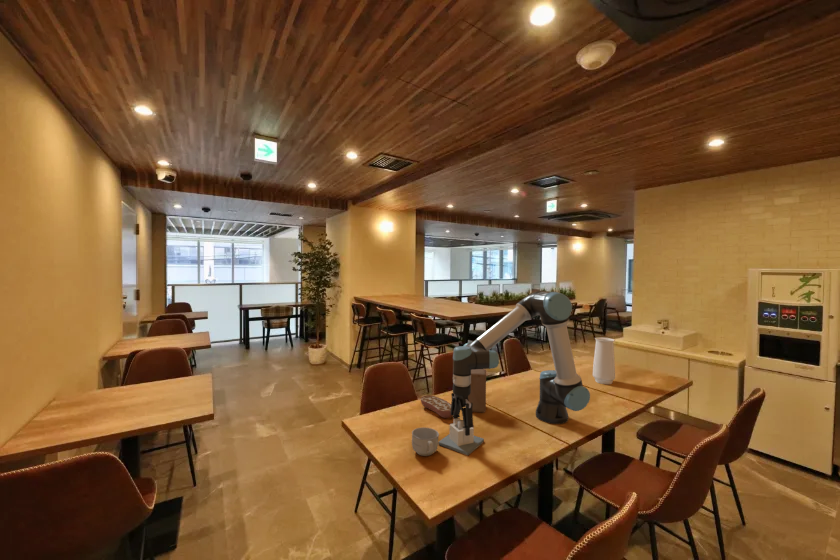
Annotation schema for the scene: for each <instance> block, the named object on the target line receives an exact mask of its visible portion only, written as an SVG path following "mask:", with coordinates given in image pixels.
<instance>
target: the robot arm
mask: <svg viewBox="0 0 840 560" xmlns="http://www.w3.org/2000/svg"><path fill="white" fill-rule="evenodd" d="M572 310H573V305H572V301H571V300H570V298H569V297H568V296H567V295H565V294H564V293H561V292H558V291H549V290H548V291H547V290H535V291H533V292H531V293H530V294H528V295H526V296H524V298H522V299H521V300H519V301H518V302H517V303H516V304H515V307H514V308H513V309H512V310H511V311H509V312H508V313H507V314H505V315H504V316H503V317H502V318H500V319H499V320H498V321H497V322H496V323H495V324H493V325H492V326H491V327H489V329H487V330H486V331H484V332H483V333H482V334H481V335H479V336H478V337H477V338H476V339H475V340H473V341H472V342H467V343H465V344H463V346H460V345H459V346H455V347H454V348H453V353H452V383H453V384H452V393H450V394H451V402H450V404H451V415H452V418H453V421H452V422H453V423H457V421H458V420H461V419H460V417H461V415H462V420H463V422H464V427H463V443H467V442H469V439H470V428H471V427H473V425H474V417H473V416H474V415H473V414H474V413H473V412H472V406H473V403H470V402H469V400H468V396H469V395H470V393H471V385H470V384H471V370H475V369H485V370H486V369H487V370H490V369H495V368H497V367H498V366H499V363H500V358H499V354H498V352H497V351H496V350H491V349H492V348H493V347H495V346H496V345H497V344H498V343H500V342H501V341H502V340H503V339H505V338H506V337H507V336H509V334H511V333H512V332H514V331H515V330H516V329H517V328H518V327H520V326H521V325H522V324H523V323H525V321H531V320H532V319H533V318H535V317H536V316H539V317H540V321H541V324H542V325H543V326H544V327H545V329H546V332H547V337H548V341H549V346H550V351H551V356H552V360H553V367H554V370H552V369H551V370H550V369H549V370H542V371H541V372H540V373H539V401H538V404H537V406H536V409H535V417H536V418H537V420H540V421H542V422H544V423H548V424H552V425H554V424H555V425H561V424H562V425H563V424H566V423H567V422H569V414H568V410H571V411H574V412H579V411H582V410H584V409H585V408H586V407H587V406H588V404H589V402H590V400H591V393H590V391H589V389H588V388H587V387H586V386H584V385H583V381H582V377H581V376H580V375H579V374H578V373H577V369H576V364H575V361H574V360H575V359H574V355H573V349H572V345H571V340H570V335H569V330H568V326H567V324H568V323H569V321H570V316H571V312H572ZM567 409H568V410H567ZM453 411H454V412H453ZM460 413H461V415H460ZM453 423H452V424H453Z"/></svg>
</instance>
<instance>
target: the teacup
mask: <svg viewBox="0 0 840 560" xmlns="http://www.w3.org/2000/svg"><path fill="white" fill-rule="evenodd" d="M439 436H440V433H439V431H438V430H436V429H434V428H432V427H431V428H430V427H424V426H423V427H417V428H415V429H413V430H411V446H412V447H411V448H412V449H413V451H414V452H416V454H417V455H419V456H423V457H427V456H431V455H433V454H434V453H436V452H437V450H438V447H439V445H438V442H439Z"/></svg>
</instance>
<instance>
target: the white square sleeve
mask: <svg viewBox="0 0 840 560" xmlns="http://www.w3.org/2000/svg"><path fill="white" fill-rule="evenodd" d="M474 433H475V425H474V424H473V427H471V428H470V439H469V442H467V443H463V429H461V430H459V429H458V428H457V423H450V424H449V434H450V439H451V440H452V441H453V442H454V443H455V444H456V445H457V446H461V445H466V444H470V443H474V436H475V435H474Z"/></svg>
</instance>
